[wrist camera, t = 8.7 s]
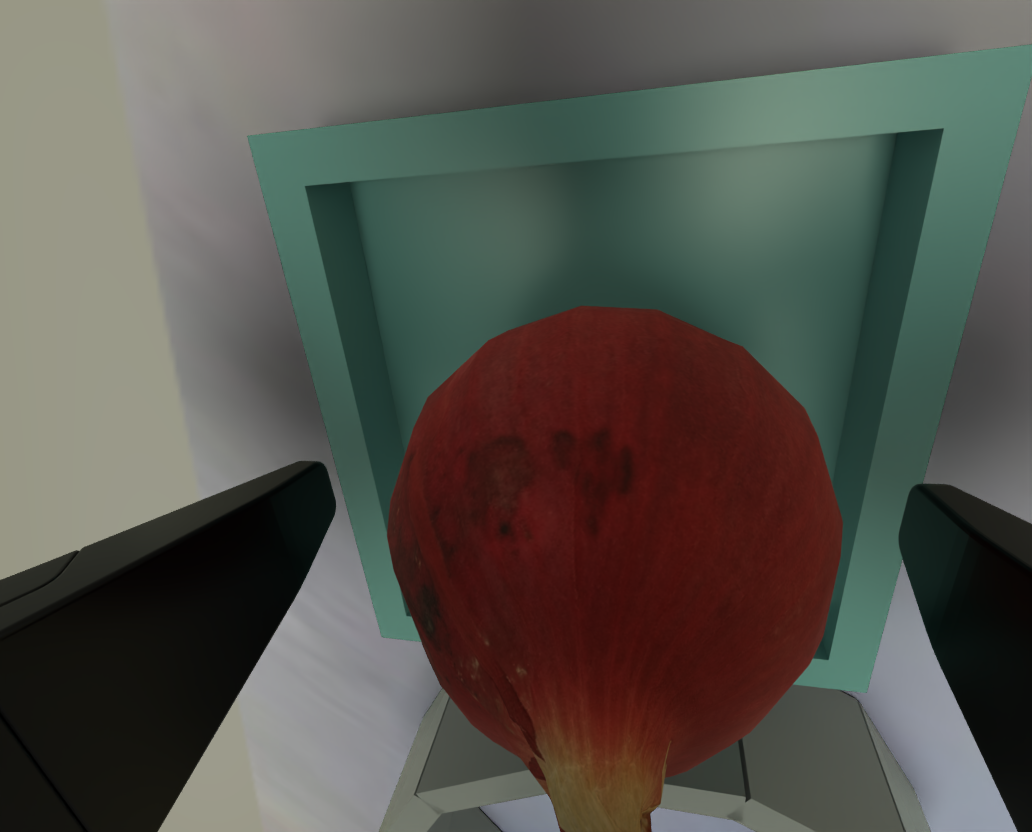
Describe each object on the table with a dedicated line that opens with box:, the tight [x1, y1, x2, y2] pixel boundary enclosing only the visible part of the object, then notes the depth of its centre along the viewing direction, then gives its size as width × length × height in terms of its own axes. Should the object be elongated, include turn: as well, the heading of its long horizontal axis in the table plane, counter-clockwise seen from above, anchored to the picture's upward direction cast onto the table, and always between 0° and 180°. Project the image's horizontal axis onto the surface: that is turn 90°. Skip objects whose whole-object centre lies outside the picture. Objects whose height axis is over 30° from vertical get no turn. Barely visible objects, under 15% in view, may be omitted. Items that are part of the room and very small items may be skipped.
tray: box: [247, 44, 1032, 693], centre depth 11 cm, size 11×11×2 cm
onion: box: [387, 306, 843, 832], centre depth 8 cm, size 6×6×8 cm
